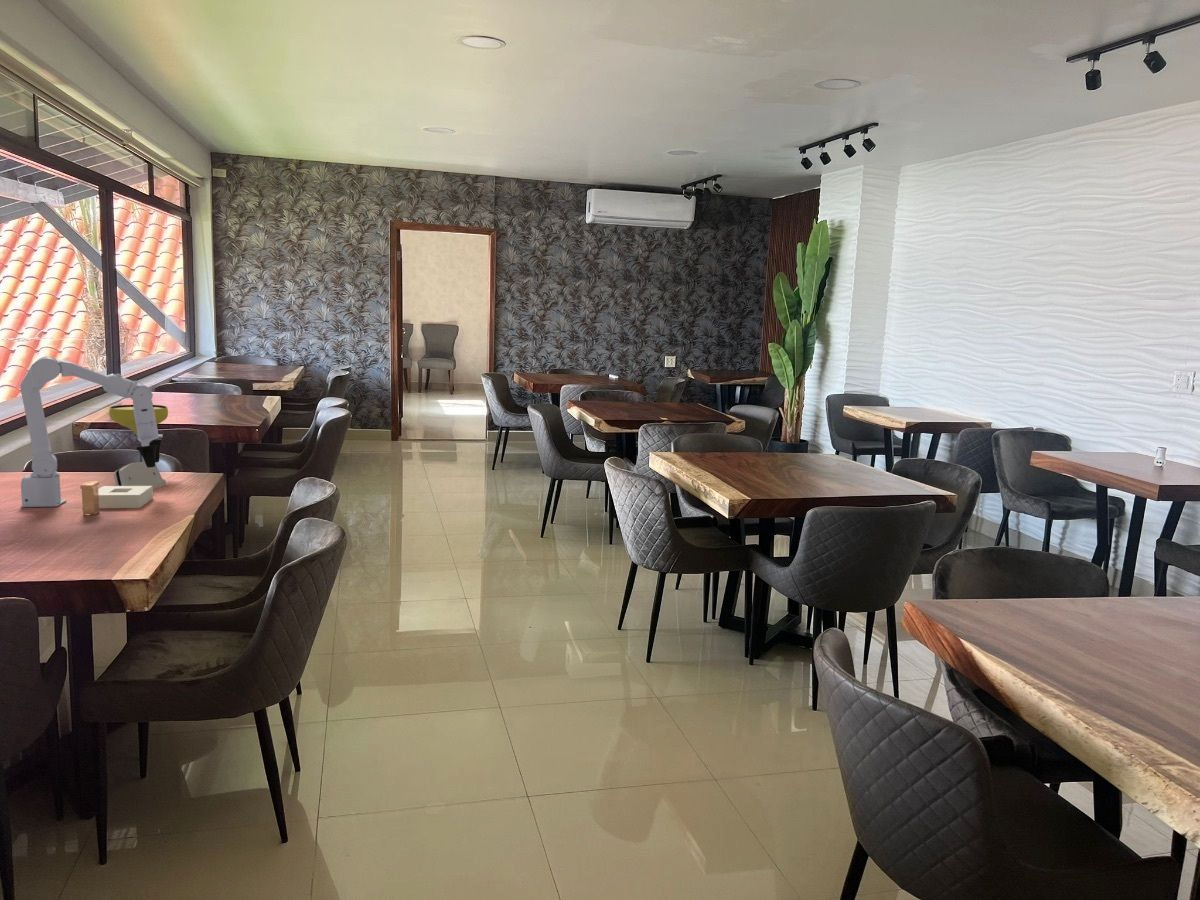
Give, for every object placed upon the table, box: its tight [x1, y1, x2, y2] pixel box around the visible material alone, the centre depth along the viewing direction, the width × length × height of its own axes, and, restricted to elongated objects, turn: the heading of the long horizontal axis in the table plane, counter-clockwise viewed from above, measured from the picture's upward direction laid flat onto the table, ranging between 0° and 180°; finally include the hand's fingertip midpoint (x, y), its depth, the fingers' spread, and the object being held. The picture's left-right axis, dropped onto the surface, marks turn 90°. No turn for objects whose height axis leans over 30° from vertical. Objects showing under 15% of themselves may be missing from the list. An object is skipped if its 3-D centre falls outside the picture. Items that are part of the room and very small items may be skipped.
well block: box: [98, 485, 154, 509], centre depth 257 cm, size 14×14×4 cm
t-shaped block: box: [79, 480, 100, 515], centre depth 242 cm, size 3×6×9 cm, turn 14°
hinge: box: [113, 461, 168, 489], centre depth 278 cm, size 17×5×10 cm, turn 166°
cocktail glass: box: [109, 404, 169, 462], centre depth 296 cm, size 18×18×25 cm
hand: (153, 464), depth 265 cm, fingers open, 7 cm apart
